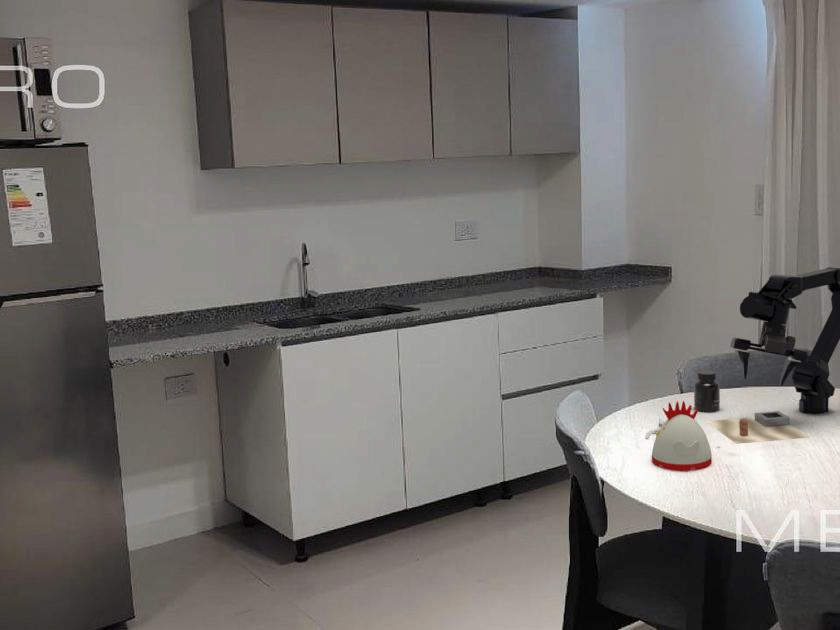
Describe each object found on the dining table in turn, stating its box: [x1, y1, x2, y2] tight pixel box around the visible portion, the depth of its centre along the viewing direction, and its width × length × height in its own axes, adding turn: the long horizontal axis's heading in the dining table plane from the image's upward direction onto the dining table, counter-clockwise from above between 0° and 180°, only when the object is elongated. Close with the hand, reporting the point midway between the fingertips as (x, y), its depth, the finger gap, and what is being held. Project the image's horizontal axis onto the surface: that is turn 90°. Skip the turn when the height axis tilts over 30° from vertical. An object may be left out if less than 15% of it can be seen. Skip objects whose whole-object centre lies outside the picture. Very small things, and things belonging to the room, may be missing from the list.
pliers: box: [644, 418, 665, 440], centre depth 254 cm, size 10×2×15 cm
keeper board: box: [705, 416, 810, 444], centre depth 246 cm, size 19×20×6 cm
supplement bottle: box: [693, 370, 721, 414], centre depth 266 cm, size 7×7×12 cm
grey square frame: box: [754, 410, 791, 427], centre depth 250 cm, size 6×6×2 cm
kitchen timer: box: [651, 400, 712, 472], centre depth 229 cm, size 14×14×15 cm
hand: (762, 382), depth 249 cm, fingers open, 9 cm apart
